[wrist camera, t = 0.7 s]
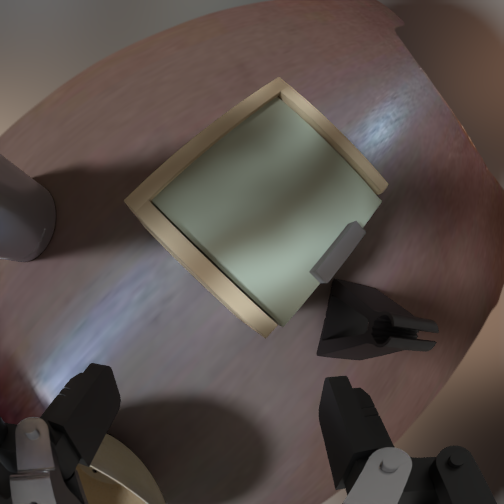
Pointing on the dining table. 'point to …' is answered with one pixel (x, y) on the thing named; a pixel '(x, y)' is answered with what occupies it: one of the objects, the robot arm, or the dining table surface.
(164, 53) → the dining table surface
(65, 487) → the robot arm
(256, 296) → the bread box
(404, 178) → the dining table surface
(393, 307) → the phone stand
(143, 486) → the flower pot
